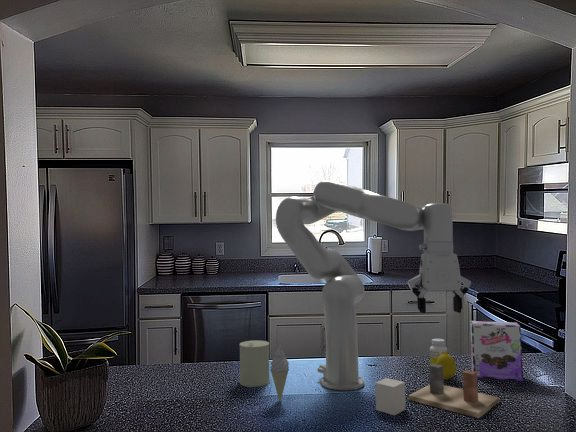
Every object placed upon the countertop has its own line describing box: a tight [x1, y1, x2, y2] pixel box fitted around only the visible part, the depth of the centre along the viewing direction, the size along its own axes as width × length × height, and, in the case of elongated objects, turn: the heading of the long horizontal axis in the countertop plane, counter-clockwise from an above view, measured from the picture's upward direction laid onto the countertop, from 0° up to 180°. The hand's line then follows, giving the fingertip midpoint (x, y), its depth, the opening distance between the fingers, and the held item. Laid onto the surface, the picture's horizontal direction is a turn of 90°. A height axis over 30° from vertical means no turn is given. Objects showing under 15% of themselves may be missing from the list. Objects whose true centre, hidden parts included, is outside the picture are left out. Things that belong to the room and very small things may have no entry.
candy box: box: [469, 320, 524, 382], centre depth 132 cm, size 14×6×16 cm, turn 71°
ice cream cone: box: [269, 343, 290, 401], centre depth 115 cm, size 5×5×15 cm
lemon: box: [437, 353, 457, 381], centre depth 130 cm, size 6×6×8 cm
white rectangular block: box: [374, 377, 406, 416], centre depth 107 cm, size 5×5×7 cm
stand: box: [408, 364, 500, 419], centre depth 112 cm, size 18×14×8 cm
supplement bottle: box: [429, 338, 449, 365], centre depth 140 cm, size 5×5×10 cm
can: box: [238, 339, 271, 388], centre depth 131 cm, size 9×9×12 cm
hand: (439, 312), depth 116 cm, fingers open, 9 cm apart
